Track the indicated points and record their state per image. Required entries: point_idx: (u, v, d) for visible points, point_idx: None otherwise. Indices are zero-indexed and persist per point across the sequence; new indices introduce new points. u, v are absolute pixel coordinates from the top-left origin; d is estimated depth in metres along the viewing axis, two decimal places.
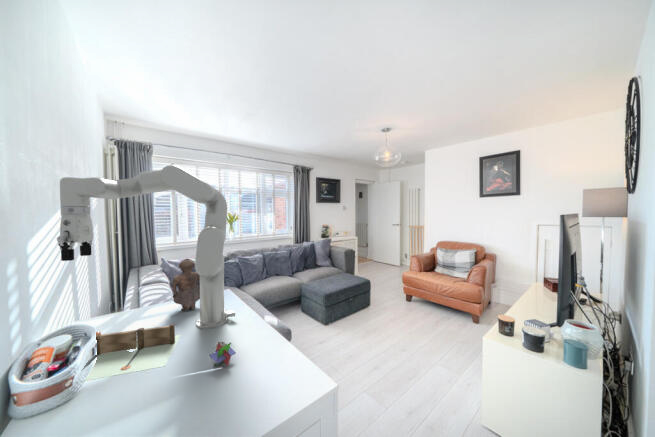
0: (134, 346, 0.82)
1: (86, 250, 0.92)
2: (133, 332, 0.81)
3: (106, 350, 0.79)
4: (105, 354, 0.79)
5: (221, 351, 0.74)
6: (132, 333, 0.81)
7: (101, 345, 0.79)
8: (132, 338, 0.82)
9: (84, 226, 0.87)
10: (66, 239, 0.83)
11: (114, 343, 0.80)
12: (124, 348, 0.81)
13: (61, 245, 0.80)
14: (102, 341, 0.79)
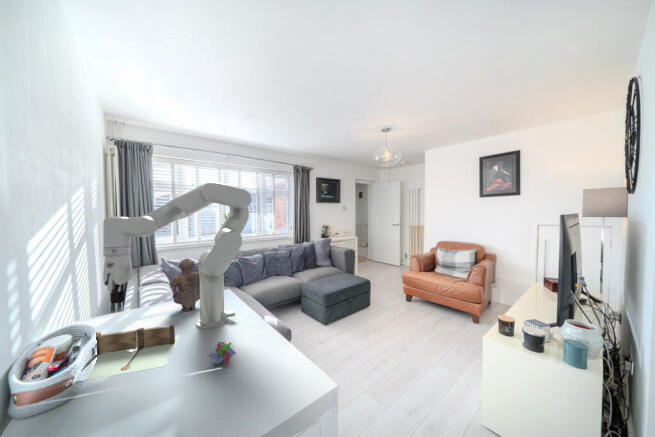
0: (134, 346, 0.82)
1: None
2: (133, 332, 0.81)
3: (106, 350, 0.79)
4: (105, 354, 0.79)
5: (221, 351, 0.74)
6: (132, 333, 0.81)
7: (101, 345, 0.79)
8: (132, 338, 0.82)
9: (126, 266, 0.84)
10: None
11: (114, 343, 0.80)
12: (124, 348, 0.81)
13: None
14: (102, 341, 0.79)
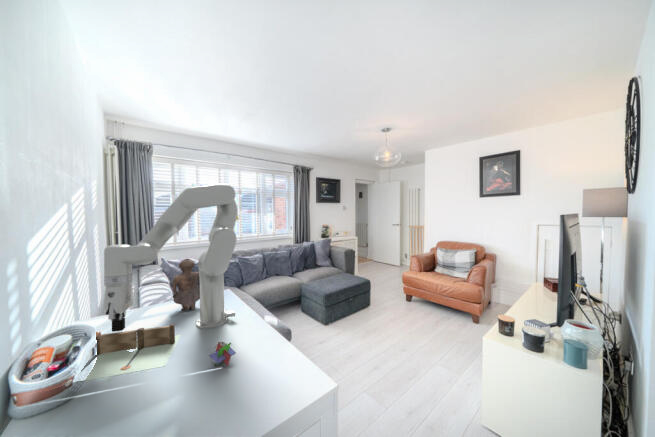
0: (134, 346, 0.82)
1: None
2: (133, 332, 0.81)
3: (106, 350, 0.79)
4: (105, 354, 0.79)
5: (221, 351, 0.74)
6: (132, 333, 0.81)
7: (101, 345, 0.79)
8: (132, 338, 0.82)
9: (126, 294, 0.85)
10: None
11: (114, 343, 0.80)
12: (124, 348, 0.81)
13: None
14: (102, 341, 0.79)
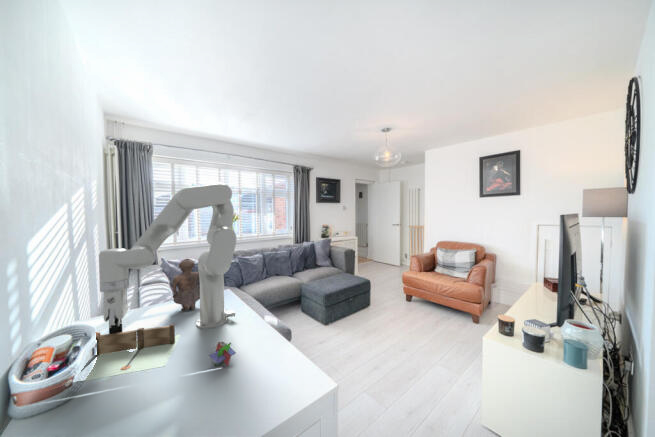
0: (134, 346, 0.82)
1: None
2: (133, 332, 0.81)
3: (106, 350, 0.79)
4: (105, 354, 0.79)
5: (221, 351, 0.74)
6: (132, 333, 0.81)
7: (101, 345, 0.79)
8: (132, 338, 0.81)
9: (124, 299, 0.83)
10: (108, 317, 0.78)
11: (114, 343, 0.80)
12: (124, 348, 0.81)
13: None
14: (102, 341, 0.79)
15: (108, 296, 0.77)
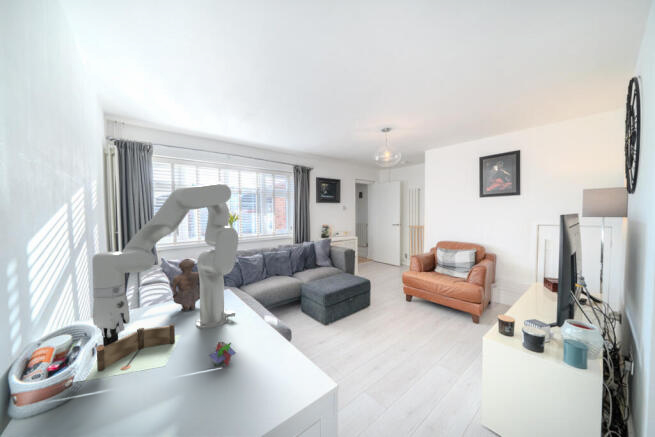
0: (136, 348, 0.81)
1: None
2: (136, 333, 0.81)
3: (111, 361, 0.74)
4: None
5: (221, 351, 0.74)
6: (135, 334, 0.80)
7: (106, 357, 0.72)
8: (134, 340, 0.80)
9: None
10: None
11: (118, 350, 0.75)
12: (128, 353, 0.78)
13: None
14: (107, 353, 0.72)
15: (117, 301, 0.73)
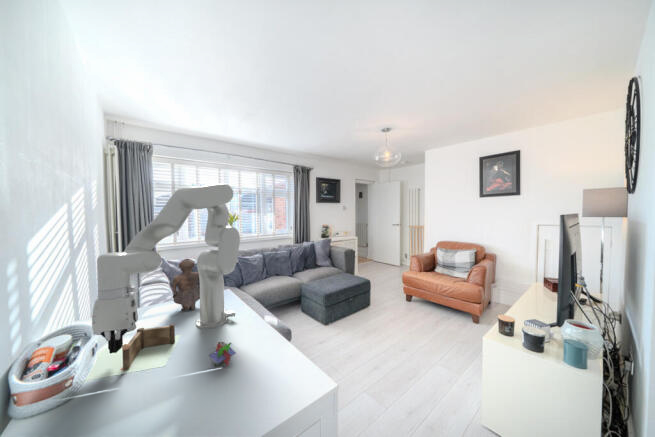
0: (140, 347, 0.81)
1: None
2: (140, 333, 0.81)
3: (131, 360, 0.74)
4: (105, 354, 0.79)
5: (221, 351, 0.74)
6: (140, 334, 0.81)
7: None
8: (139, 339, 0.81)
9: None
10: None
11: (133, 349, 0.76)
12: (137, 352, 0.79)
13: None
14: (129, 351, 0.73)
15: (130, 300, 0.74)
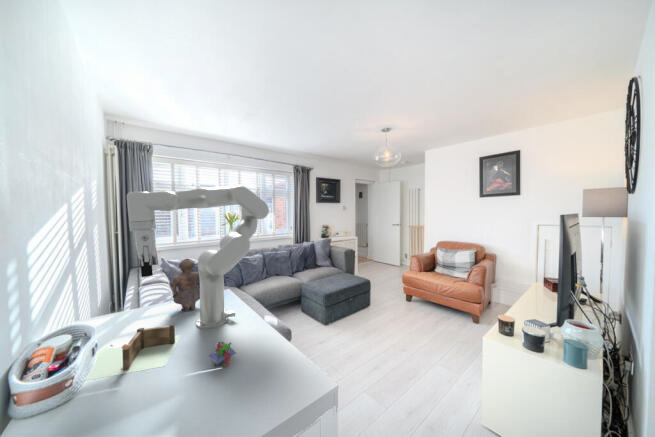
0: (140, 347, 0.81)
1: None
2: (140, 333, 0.81)
3: (131, 360, 0.74)
4: (105, 354, 0.79)
5: (221, 351, 0.74)
6: (140, 334, 0.81)
7: None
8: (139, 339, 0.81)
9: None
10: (142, 254, 0.82)
11: (133, 349, 0.76)
12: (137, 352, 0.79)
13: None
14: (129, 351, 0.73)
15: (141, 234, 0.81)
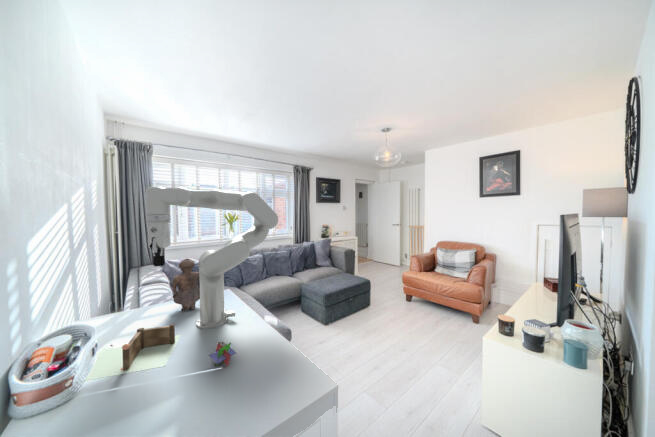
0: (140, 347, 0.81)
1: None
2: (140, 333, 0.81)
3: (131, 360, 0.74)
4: (105, 354, 0.79)
5: (221, 351, 0.74)
6: (140, 334, 0.81)
7: None
8: (139, 339, 0.81)
9: (166, 232, 0.92)
10: (152, 245, 0.88)
11: (133, 349, 0.76)
12: (137, 352, 0.79)
13: None
14: (129, 351, 0.73)
15: (152, 226, 0.87)
